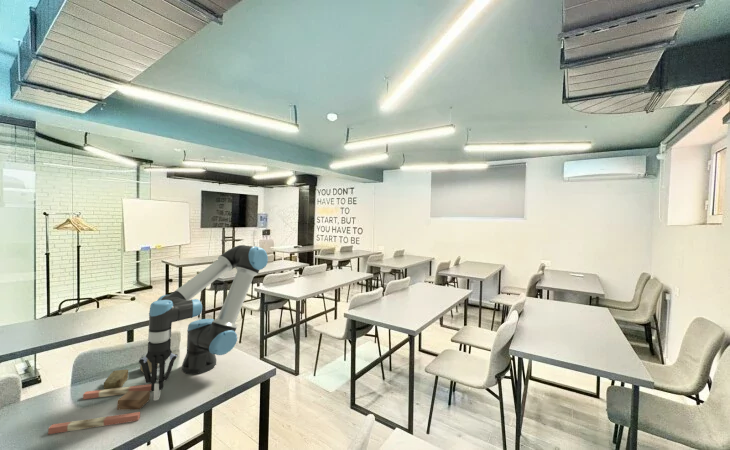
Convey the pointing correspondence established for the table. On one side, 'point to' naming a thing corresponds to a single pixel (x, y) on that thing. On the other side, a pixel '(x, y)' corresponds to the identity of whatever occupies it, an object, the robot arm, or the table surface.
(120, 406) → the walnut block
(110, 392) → the rails
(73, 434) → the table surface
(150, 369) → the ceramic mug
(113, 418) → the rails
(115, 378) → the stone block
